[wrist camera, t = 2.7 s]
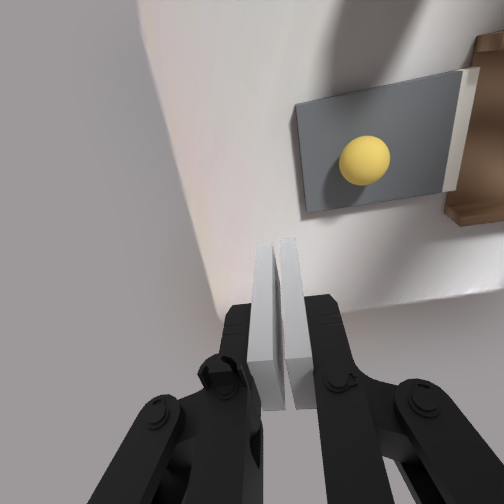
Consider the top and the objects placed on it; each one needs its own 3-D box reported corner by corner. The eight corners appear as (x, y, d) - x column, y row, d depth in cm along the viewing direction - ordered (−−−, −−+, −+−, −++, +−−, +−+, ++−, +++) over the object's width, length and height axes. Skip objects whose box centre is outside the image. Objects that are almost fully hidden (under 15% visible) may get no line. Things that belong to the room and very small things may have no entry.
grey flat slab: (295, 104, 25) (296, 106, 24) (470, 66, 23) (480, 67, 22) (305, 208, 30) (307, 212, 29) (449, 185, 28) (455, 190, 27)
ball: (334, 136, 25) (344, 147, 22) (382, 127, 24) (399, 136, 21) (335, 179, 27) (345, 196, 24) (379, 172, 26) (395, 188, 23)
